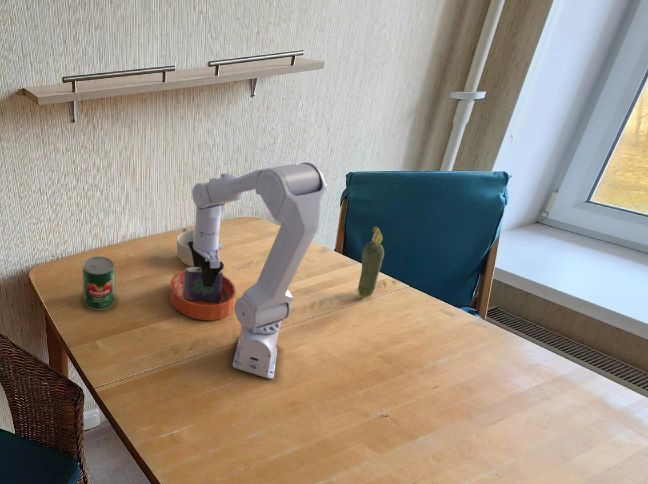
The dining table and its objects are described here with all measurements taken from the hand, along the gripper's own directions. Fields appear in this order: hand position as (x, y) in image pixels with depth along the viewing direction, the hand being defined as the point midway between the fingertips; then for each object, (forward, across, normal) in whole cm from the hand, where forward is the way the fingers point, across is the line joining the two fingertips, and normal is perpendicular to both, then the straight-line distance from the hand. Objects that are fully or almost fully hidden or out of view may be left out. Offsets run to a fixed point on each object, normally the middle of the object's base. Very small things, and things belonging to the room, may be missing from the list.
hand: (203, 277), depth 107 cm
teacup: (+7, +20, -4) cm, 22 cm away
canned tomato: (+7, +3, +26) cm, 27 cm away
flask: (+7, 0, 0) cm, 7 cm away
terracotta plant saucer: (+7, 0, 0) cm, 7 cm away
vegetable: (+7, -3, -41) cm, 42 cm away
